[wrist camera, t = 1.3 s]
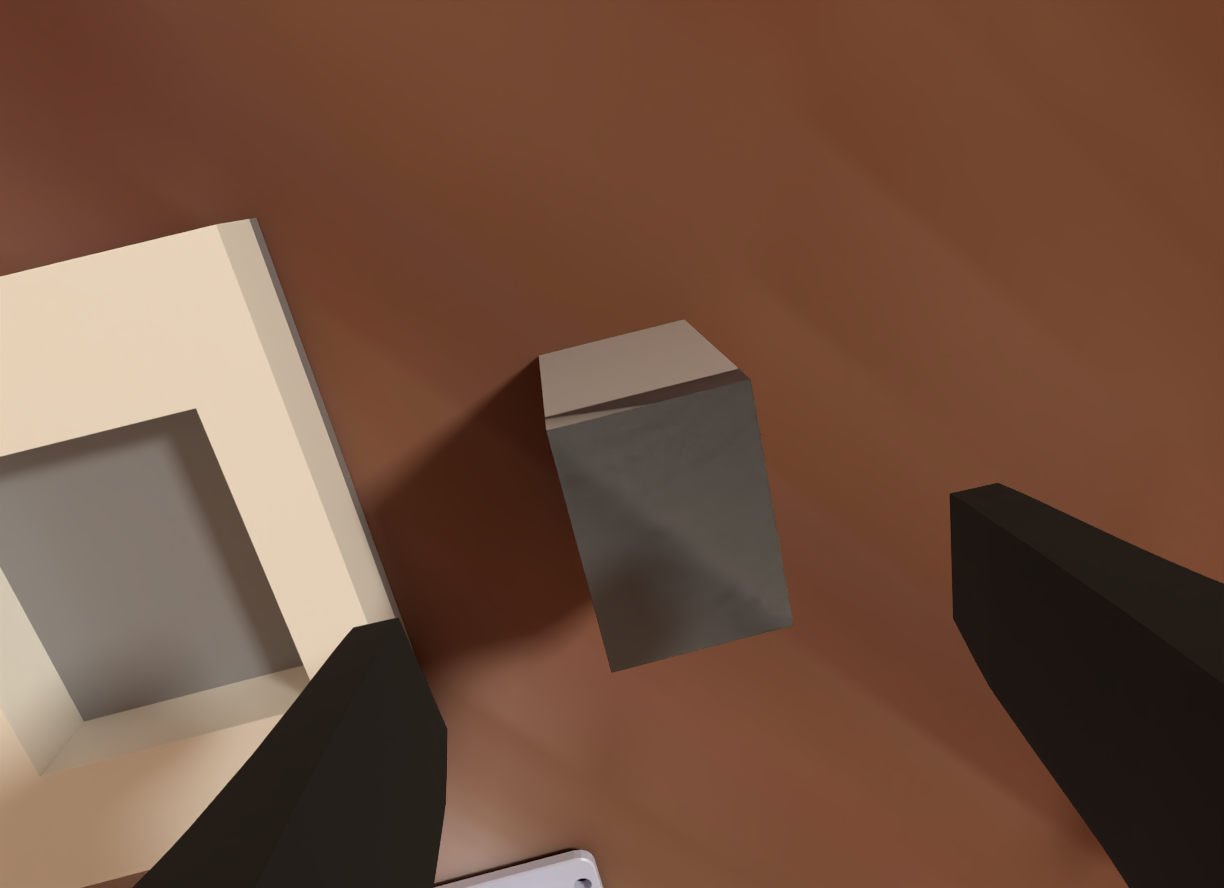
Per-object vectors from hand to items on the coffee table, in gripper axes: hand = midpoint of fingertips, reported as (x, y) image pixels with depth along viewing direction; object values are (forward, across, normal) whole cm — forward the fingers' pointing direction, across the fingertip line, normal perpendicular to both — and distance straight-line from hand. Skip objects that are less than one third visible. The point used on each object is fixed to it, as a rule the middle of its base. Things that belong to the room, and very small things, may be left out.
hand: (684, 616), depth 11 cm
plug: (+10, 0, +2) cm, 10 cm away
